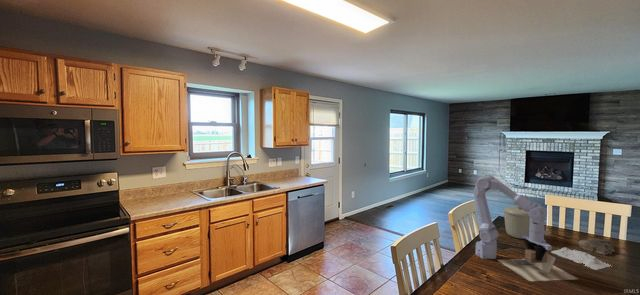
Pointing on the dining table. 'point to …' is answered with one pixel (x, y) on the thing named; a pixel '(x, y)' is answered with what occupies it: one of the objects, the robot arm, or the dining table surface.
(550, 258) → the tile
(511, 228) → the canister
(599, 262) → the terrain model
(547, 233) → the cleaver
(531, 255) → the brown rectangular block
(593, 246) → the clay tablet
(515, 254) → the dining table surface
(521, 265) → the board
